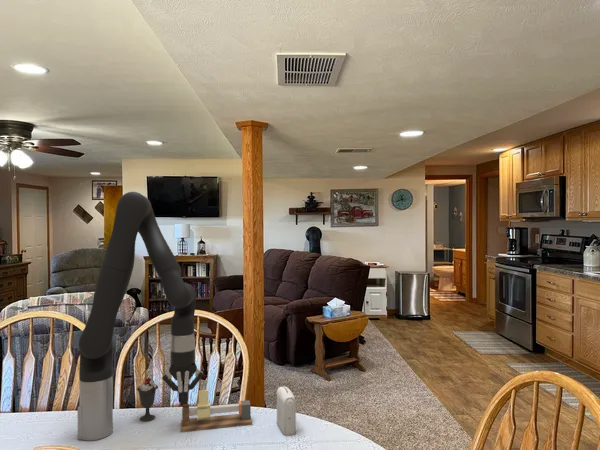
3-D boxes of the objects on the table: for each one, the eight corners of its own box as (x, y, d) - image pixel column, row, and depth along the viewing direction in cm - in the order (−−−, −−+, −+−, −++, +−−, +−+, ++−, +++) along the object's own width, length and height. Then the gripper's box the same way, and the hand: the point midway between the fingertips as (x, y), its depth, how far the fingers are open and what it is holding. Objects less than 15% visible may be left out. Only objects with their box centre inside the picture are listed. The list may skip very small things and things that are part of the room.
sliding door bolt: (184, 426, 138) (183, 410, 138) (184, 421, 142) (184, 405, 142) (250, 419, 143) (250, 403, 143) (249, 414, 146) (249, 399, 146)
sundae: (144, 424, 142) (144, 377, 142) (132, 419, 146) (132, 373, 146) (162, 417, 147) (162, 372, 147) (150, 412, 151) (150, 368, 151)
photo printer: (297, 434, 134) (297, 393, 134) (283, 436, 133) (283, 395, 133) (288, 420, 144) (287, 382, 144) (275, 422, 143) (275, 383, 143)
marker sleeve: (197, 420, 139) (197, 393, 139) (197, 415, 143) (197, 388, 143) (210, 419, 140) (210, 392, 140) (210, 413, 144) (209, 387, 144)
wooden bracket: (180, 432, 136) (180, 411, 136) (181, 422, 143) (181, 402, 143) (252, 424, 141) (252, 404, 141) (249, 415, 148) (249, 396, 148)
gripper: (159, 352, 135) (160, 410, 135) (204, 349, 138) (204, 405, 138) (161, 346, 142) (162, 400, 142) (204, 343, 145) (204, 396, 145)
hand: (183, 402), depth 140 cm, fingers closed
